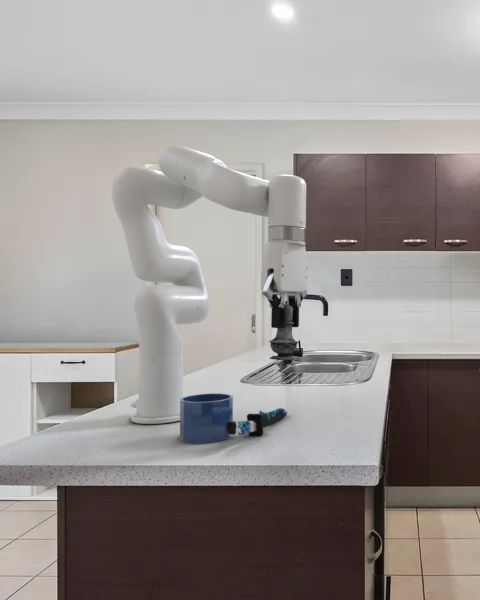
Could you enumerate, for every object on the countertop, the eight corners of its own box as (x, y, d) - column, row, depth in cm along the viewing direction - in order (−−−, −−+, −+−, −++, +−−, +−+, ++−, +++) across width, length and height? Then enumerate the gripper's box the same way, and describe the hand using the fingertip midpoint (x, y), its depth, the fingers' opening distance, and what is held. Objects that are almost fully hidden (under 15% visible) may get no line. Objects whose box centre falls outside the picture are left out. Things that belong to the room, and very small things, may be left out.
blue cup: (169, 440, 103) (169, 399, 103) (206, 428, 112) (206, 392, 112) (207, 445, 99) (207, 404, 99) (242, 433, 108) (242, 395, 108)
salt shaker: (302, 359, 107) (306, 301, 107) (288, 360, 101) (291, 299, 102) (278, 357, 109) (281, 300, 109) (262, 358, 103) (265, 298, 104)
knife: (231, 445, 94) (233, 420, 95) (216, 444, 95) (218, 419, 95) (296, 425, 124) (297, 406, 125) (285, 424, 125) (286, 405, 125)
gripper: (295, 242, 114) (293, 325, 114) (244, 233, 99) (243, 328, 99) (324, 241, 111) (322, 326, 111) (276, 231, 96) (274, 330, 96)
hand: (285, 326), depth 105 cm, fingers closed on salt shaker, 3 cm apart
